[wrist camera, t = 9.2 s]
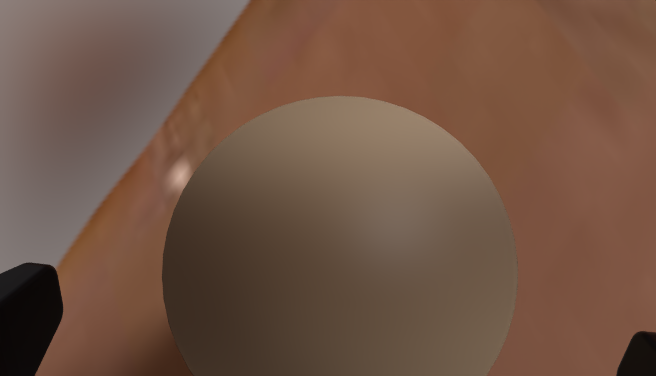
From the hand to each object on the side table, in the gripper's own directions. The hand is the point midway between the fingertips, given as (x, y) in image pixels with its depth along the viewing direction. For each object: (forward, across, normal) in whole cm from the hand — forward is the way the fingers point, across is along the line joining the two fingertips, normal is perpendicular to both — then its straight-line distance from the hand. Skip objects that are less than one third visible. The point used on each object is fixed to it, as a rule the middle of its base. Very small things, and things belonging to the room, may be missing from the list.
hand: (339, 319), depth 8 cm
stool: (+10, -1, +8) cm, 13 cm away
